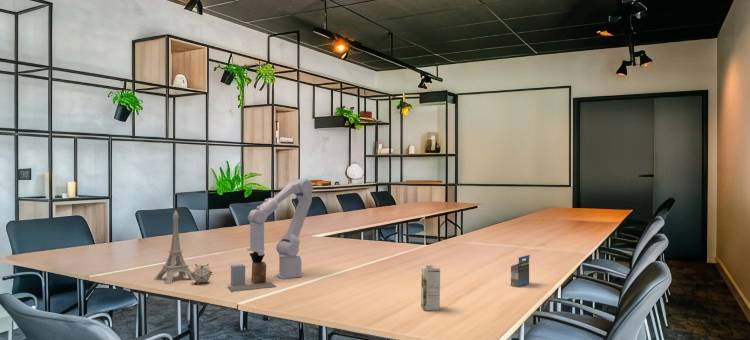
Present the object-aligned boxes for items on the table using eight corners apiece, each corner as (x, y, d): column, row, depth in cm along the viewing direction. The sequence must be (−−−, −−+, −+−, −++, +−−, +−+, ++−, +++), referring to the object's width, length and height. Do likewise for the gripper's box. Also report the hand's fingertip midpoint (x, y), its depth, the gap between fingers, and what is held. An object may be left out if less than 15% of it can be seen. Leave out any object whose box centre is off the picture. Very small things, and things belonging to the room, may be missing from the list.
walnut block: (263, 279, 217) (263, 261, 216) (265, 282, 213) (266, 264, 212) (251, 280, 214) (252, 262, 213) (253, 284, 211) (254, 265, 210)
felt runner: (270, 282, 213) (270, 282, 213) (276, 286, 206) (276, 286, 206) (227, 287, 205) (227, 286, 205) (231, 291, 198) (231, 290, 198)
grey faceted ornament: (203, 293, 211) (203, 276, 205) (186, 284, 212) (186, 268, 206) (216, 278, 218) (217, 262, 212) (200, 270, 219) (199, 254, 214)
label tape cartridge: (521, 282, 216) (521, 253, 216) (529, 284, 213) (529, 254, 213) (510, 286, 210) (510, 256, 210) (518, 287, 207) (519, 257, 207)
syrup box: (420, 306, 178) (420, 265, 178) (437, 306, 179) (437, 264, 179) (423, 311, 173) (423, 268, 173) (440, 310, 173) (440, 268, 173)
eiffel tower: (184, 274, 229) (184, 208, 229) (197, 279, 220) (197, 210, 219) (153, 279, 220) (153, 210, 220) (166, 284, 210) (166, 212, 210)
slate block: (243, 283, 213) (243, 264, 213) (245, 285, 209) (245, 265, 209) (230, 284, 211) (230, 265, 211) (232, 286, 207) (232, 266, 207)
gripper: (243, 236, 221) (243, 267, 221) (251, 240, 208) (251, 273, 208) (260, 235, 224) (259, 266, 224) (268, 239, 211) (268, 272, 211)
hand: (257, 269), depth 216 cm, fingers closed
